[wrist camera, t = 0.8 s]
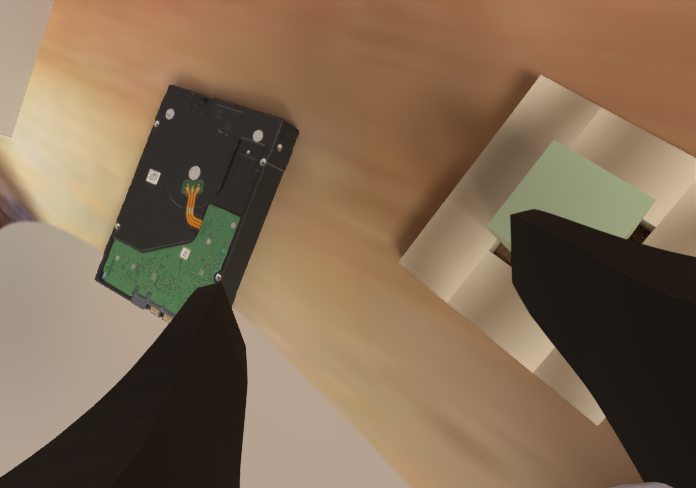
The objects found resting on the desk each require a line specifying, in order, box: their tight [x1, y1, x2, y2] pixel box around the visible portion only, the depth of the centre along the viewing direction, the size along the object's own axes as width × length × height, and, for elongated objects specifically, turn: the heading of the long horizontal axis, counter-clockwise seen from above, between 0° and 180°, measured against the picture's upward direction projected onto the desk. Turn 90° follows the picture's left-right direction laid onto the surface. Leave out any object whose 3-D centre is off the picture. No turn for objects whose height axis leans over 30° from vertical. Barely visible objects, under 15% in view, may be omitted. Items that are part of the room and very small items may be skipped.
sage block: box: [486, 140, 656, 252], centre depth 22 cm, size 4×4×8 cm
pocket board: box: [398, 75, 696, 426], centre depth 25 cm, size 12×12×2 cm
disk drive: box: [95, 85, 299, 323], centre depth 34 cm, size 10×3×15 cm
